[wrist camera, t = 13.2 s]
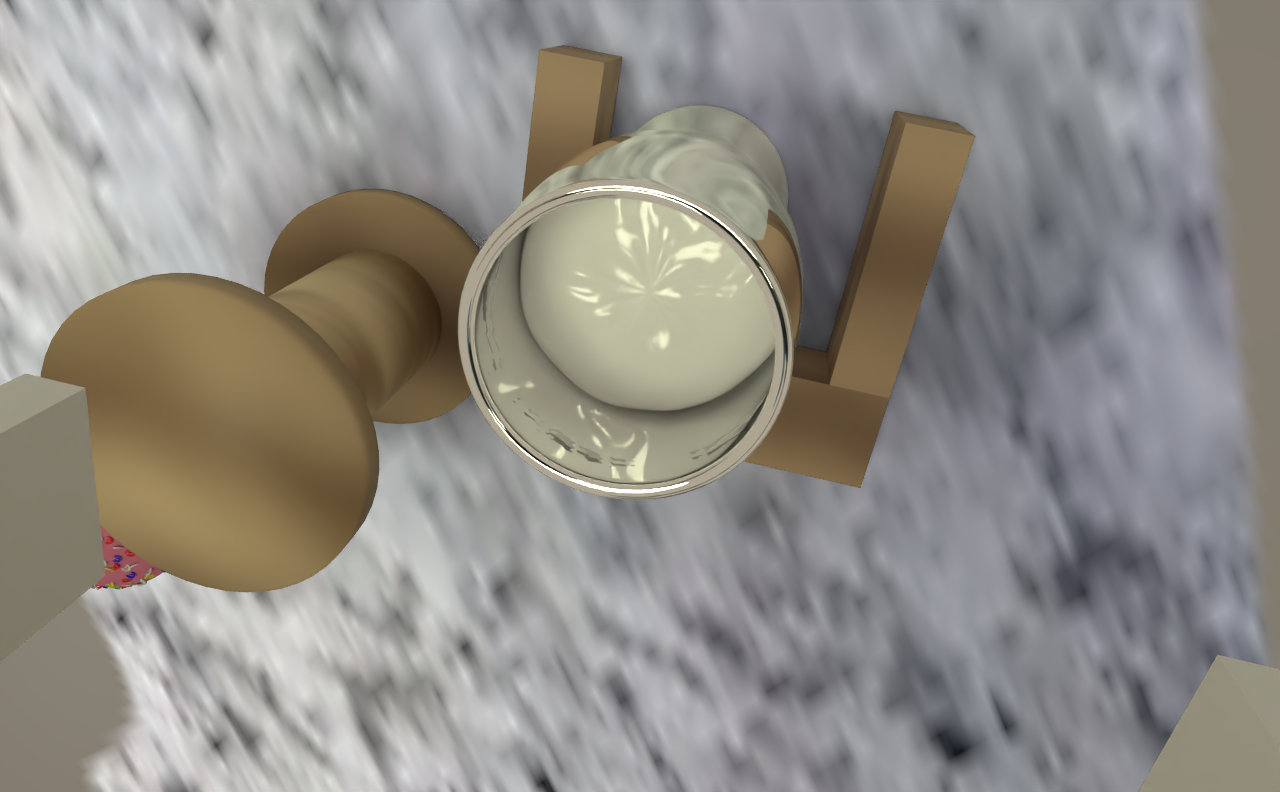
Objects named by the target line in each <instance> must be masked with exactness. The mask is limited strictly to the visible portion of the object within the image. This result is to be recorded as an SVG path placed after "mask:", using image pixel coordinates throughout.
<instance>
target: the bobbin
mask: <svg viewBox="0 0 1280 792" xmlns="http://www.w3.org/2000/svg"><path fill="white" fill-rule="evenodd" d="M479 252H480V250H479V249H478V247H477V246H476V244H475V243H474V242H473V241H472V240H471V238H470V237H469V236H468V235H467V234H466V232H465V231H464V230H463V229H462V228H460V227H459V226H458V225H457V224H456V223H455V222H454V221H453V220H452V219H450V218H449V217H448V216H446V215H445V214H444V213H442V212H441V211H440V210H438V209H436V208H435V207H433V206H431V205H429V204H428V203H426V202H424V201H421V200H419V199H417V198H414V197H412V196H409V195H406V194H402V193H399V192H395V191H389V190H382V189H361V190H353V191H348V192H344V193H341V194H338V195H335V196H332V197H330V198H328V199H325V200H323V201H321V202H319V203H316V204H314V205H312V206H310V207H308V208H307V209H306V210H304V211H303V212H301V213H300V214H298V215H297V216H296V217H295V218H294V219H293V220H292V221H291V222H290V223H289V224H288V225H287V226H286V227H285V229H284V230H283V231H282V233H281V234H280V235H279V237H278V239H277V241H276V242H275V244H274V246H273V248H272V251H271V254H270V257H269V260H268V263H267V268H266V273H265V287H264V292H265V295H263V294H262V293H260V292H258V291H255V290H253V289H250V288H248V287H246V286H243V285H241V284H238V283H235V282H232V281H228V280H225V279H221V278H218V277H213V276H207V275H201V274H194V273H168V274H160V275H152V276H149V277H145V278H142V279H138V280H135V281H132V282H130V283H128V284H125V285H123V286H120V287H118V288H116V289H113V290H111V291H109V292H106V293H104V294H102V295H100V296H98V297H96V298H94V299H92V300H90V301H88V302H87V303H85V304H84V305H83V306H81V307H80V308H78V309H77V310H76V311H74V312H73V313H72V314H71V315H70V317H69V318H68V319H67V320H66V321H65V322H64V323H63V324H62V325H61V327H60V328H59V330H58V331H57V333H56V334H55V336H54V337H53V339H52V341H51V343H50V346H49V348H48V350H47V353H46V355H45V358H44V363H43V367H42V371H41V377H42V378H46V379H50V380H55V381H59V382H63V383H67V384H72V385H76V386H80V387H84V388H86V398H87V407H88V417H89V426H90V436H91V445H92V455H93V464H94V474H95V483H96V492H97V502H98V511H99V521H100V525H101V526H102V527H103V528H104V529H105V530H106V531H107V532H108V533H109V534H110V535H111V536H113V537H114V538H115V539H116V540H117V541H119V542H120V543H121V544H122V545H124V546H125V547H126V548H128V549H129V550H130V551H131V552H133V553H134V554H136V555H138V556H139V557H141V558H142V559H144V560H145V561H147V562H148V563H150V564H152V565H154V566H156V567H157V568H159V569H161V570H163V571H165V572H167V573H169V574H171V575H174V576H176V577H179V578H181V579H184V580H186V581H189V582H192V583H195V584H199V585H202V586H205V587H210V588H215V589H220V590H225V591H236V592H264V591H270V590H276V589H282V588H285V587H288V586H291V585H294V584H297V583H300V582H302V581H304V580H306V579H308V578H310V577H312V576H314V575H315V574H316V573H318V572H319V571H321V570H322V569H324V568H325V567H326V566H327V565H328V564H329V563H330V562H331V561H332V560H333V559H334V558H335V557H336V556H337V555H338V554H339V553H340V552H341V551H342V550H343V548H344V547H345V546H346V545H347V544H348V542H349V541H350V540H351V539H352V537H353V536H354V535H355V534H356V532H357V531H358V530H359V528H360V527H361V525H362V524H363V522H364V521H365V519H366V517H367V515H368V513H369V511H370V509H371V507H372V504H373V500H374V497H375V493H376V490H377V484H378V476H379V450H378V444H377V438H376V431H375V428H374V425H373V421H377V422H383V423H393V424H406V423H417V422H421V421H426V420H430V419H432V418H435V417H438V416H441V415H443V414H444V413H446V412H448V411H450V410H452V409H453V408H455V407H456V406H457V405H459V404H460V403H461V402H463V401H464V400H465V399H466V398H467V397H468V396H469V395H470V394H471V391H470V389H469V386H468V384H467V381H466V378H465V374H464V371H463V367H462V363H461V358H460V353H459V345H458V313H459V306H460V300H461V295H462V291H463V288H464V284H465V281H466V278H467V276H468V273H469V271H470V269H471V266H472V264H473V262H474V260H475V258H476V257H477V255H478V253H479Z"/></svg>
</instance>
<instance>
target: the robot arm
mask: <svg viewBox="0 0 1280 792" xmlns="http://www.w3.org/2000/svg"><path fill="white" fill-rule="evenodd" d="M104 576H105V568H104V559H103V549H102V540H101V530H100V521H99V511H98V502H97V492H96V483H95V474H94V464H93V455H92V445H91V436H90V426H89V417H88V407H87V398H86V388H84V387H80V386H76V385H72V384H67V383H63V382H59V381H55V380H50V379H46V378H42V377H38V376H33V375H29V374H24V375H22V376H20V377H18V378H16V379H13V380H11V381H9V382H7V383H5V384H3V385H1V386H0V662H1V661H3V660H4V659H5V658H6V657H7V656H9V655H10V654H11V653H12V652H13V651H14V650H16V649H17V648H18V647H19V646H21V645H22V644H23V643H24V642H26V640H28V639H29V638H30V637H32V636H33V635H34V634H35V633H36V632H38V631H39V630H40V629H41V628H42V627H43V626H45V625H46V624H47V623H48V622H50V621H51V620H52V619H53V618H55V617H56V616H57V615H58V614H59V613H61V612H62V611H63V610H64V609H65V608H66V607H68V606H69V605H70V604H71V603H73V602H74V601H75V600H76V599H77V598H79V597H80V596H81V595H82V594H84V593H85V592H86V591H87V590H88V589H90V588H91V587H92V586H93V585H94V584H96V583H97V582H98V581H99V580H100V579H102V578H103V577H104ZM1138 792H1280V669H1276V668H1271V667H1267V666H1263V665H1259V664H1254V663H1250V662H1246V661H1242V660H1237V659H1233V658H1229V657H1225V656H1220V655H1217V657H1216V658H1215V660H1214V662H1213V664H1212V665H1211V667H1210V669H1209V670H1208V672H1207V674H1206V676H1205V677H1204V679H1203V681H1202V683H1201V684H1200V686H1199V688H1198V689H1197V691H1196V693H1195V695H1194V696H1193V698H1192V700H1191V702H1190V703H1189V705H1188V707H1187V708H1186V710H1185V712H1184V714H1183V715H1182V717H1181V719H1180V720H1179V722H1178V724H1177V726H1176V727H1175V729H1174V731H1173V733H1172V734H1171V736H1170V738H1169V739H1168V741H1167V743H1166V745H1165V746H1164V748H1163V750H1162V752H1161V753H1160V755H1159V757H1158V758H1157V760H1156V762H1155V764H1154V765H1153V767H1152V769H1151V770H1150V772H1149V774H1148V776H1147V777H1146V779H1145V781H1144V783H1143V784H1142V786H1141V788H1140V789H1139V791H1138Z"/></svg>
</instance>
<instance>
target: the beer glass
mask: <svg viewBox="0 0 1280 792" xmlns="http://www.w3.org/2000/svg"><path fill="white" fill-rule="evenodd" d="M787 207H788V183H787V177H786V173H785V169H784V166H783V163H782V161H781V158H780V156H779V154H778V152H777V150H776V149H775V147H774V145H773V144H772V143H771V141H770V140H769V139H768V137H767V136H766V135H765V134H764V133H763V132H762V131H761V130H760V129H759V128H758V127H757V126H756V125H754V124H753V123H752V122H750V121H749V120H748V119H746V118H744V117H743V116H741V115H739V114H737V113H735V112H732V111H730V110H727V109H724V108H720V107H715V106H707V105H693V106H685V107H680V108H676V109H672V110H669V111H666V112H664V113H662V114H660V115H658V116H656V117H654V118H652V119H651V120H649V121H648V122H646V123H645V124H644V125H643V126H641V127H640V128H639V129H638V130H637V131H636V132H631V133H626V134H622V135H619V136H615V137H613V138H610V139H607V140H605V141H602V142H600V143H598V144H596V145H594V146H592V147H590V148H589V149H587V150H585V151H583V152H581V153H579V154H577V155H576V156H574V157H572V158H571V159H569V160H568V161H566V162H565V163H564V164H562V165H561V166H560V167H558V168H557V169H556V170H555V171H554V172H553V173H551V174H550V175H549V176H548V177H547V178H546V179H545V180H543V181H542V182H541V183H540V184H539V185H538V186H537V187H536V188H535V189H534V190H533V191H532V192H531V193H530V194H529V195H528V196H527V197H526V198H525V199H524V201H523V202H522V203H521V204H520V205H519V206H518V207H517V209H516V210H515V211H514V212H513V213H512V215H511V216H510V217H509V218H507V219H506V220H505V221H504V222H503V223H502V224H501V225H500V226H499V227H498V228H497V229H496V230H495V231H494V233H493V234H492V235H491V236H490V237H489V239H488V240H487V241H486V243H485V244H484V245H483V247H482V248H481V250H480V252H479V253H478V255H477V257H476V258H475V260H474V262H473V264H472V266H471V269H470V271H469V273H468V276H467V278H466V281H465V284H464V288H463V291H462V295H461V300H460V306H459V313H458V345H459V353H460V358H461V363H462V367H463V371H464V374H465V378H466V381H467V384H468V386H469V389H470V391H471V393H472V396H473V398H474V400H475V402H476V404H477V406H478V407H479V409H480V411H481V413H482V414H483V416H484V417H485V419H486V420H487V422H488V423H489V425H490V426H491V427H492V429H493V430H494V431H495V432H496V434H497V435H498V436H499V437H500V438H501V439H502V441H503V442H504V443H505V444H506V445H507V446H508V447H509V448H510V449H511V450H512V451H514V452H515V453H516V454H517V455H518V456H519V457H520V458H522V459H523V460H524V461H525V462H527V463H528V464H529V465H531V466H532V467H534V468H535V469H537V470H538V471H540V472H541V473H543V474H545V475H546V476H548V477H550V478H552V479H554V480H556V481H558V482H560V483H562V484H564V485H566V486H569V487H571V488H574V489H577V490H580V491H583V492H586V493H589V494H593V495H598V496H602V497H608V498H615V499H625V500H649V499H659V498H666V497H671V496H675V495H680V494H683V493H687V492H690V491H693V490H696V489H698V488H701V487H703V486H705V485H708V484H710V483H712V482H714V481H715V480H717V479H719V478H721V477H722V476H724V475H726V474H727V473H729V472H730V471H731V470H733V469H734V468H736V467H737V466H738V465H739V464H741V463H742V462H743V461H744V460H745V459H746V458H747V457H748V456H749V455H750V454H751V453H752V452H753V451H754V450H755V449H756V448H757V447H758V446H759V445H760V444H761V442H762V441H763V440H764V438H765V437H766V436H767V434H768V433H769V431H770V430H771V428H772V426H773V425H774V423H775V421H776V419H777V418H778V416H779V413H780V411H781V409H782V407H783V404H784V402H785V399H786V396H787V393H788V389H789V385H790V381H791V375H792V369H793V359H794V355H795V351H796V346H797V342H798V337H799V332H800V327H801V320H802V308H803V296H804V277H803V267H802V260H801V253H800V246H799V241H798V237H797V233H796V230H795V227H794V224H793V222H792V219H791V217H790V214H789V212H788V210H787Z"/></svg>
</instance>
